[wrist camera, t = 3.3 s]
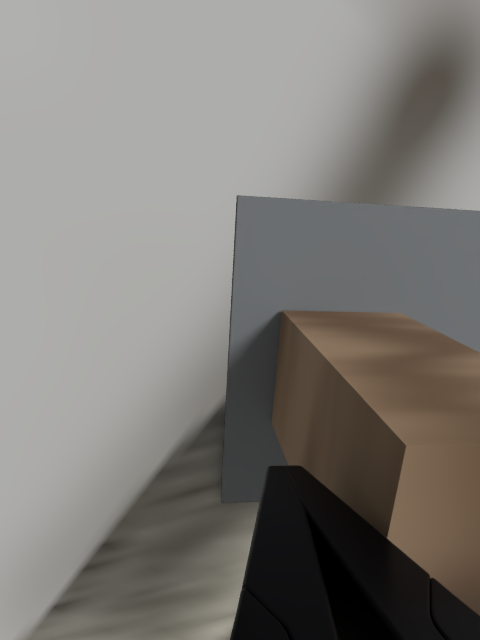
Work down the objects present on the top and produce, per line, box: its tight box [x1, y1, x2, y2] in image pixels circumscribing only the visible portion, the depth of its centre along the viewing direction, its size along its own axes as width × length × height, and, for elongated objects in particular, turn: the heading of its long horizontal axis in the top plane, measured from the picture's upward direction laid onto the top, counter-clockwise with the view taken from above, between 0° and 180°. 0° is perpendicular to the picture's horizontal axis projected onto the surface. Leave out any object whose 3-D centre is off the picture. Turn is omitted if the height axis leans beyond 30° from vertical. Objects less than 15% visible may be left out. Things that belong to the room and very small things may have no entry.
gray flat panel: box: [221, 196, 480, 503], centre depth 15 cm, size 14×12×1 cm
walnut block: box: [272, 310, 480, 615], centre depth 11 cm, size 4×4×8 cm
